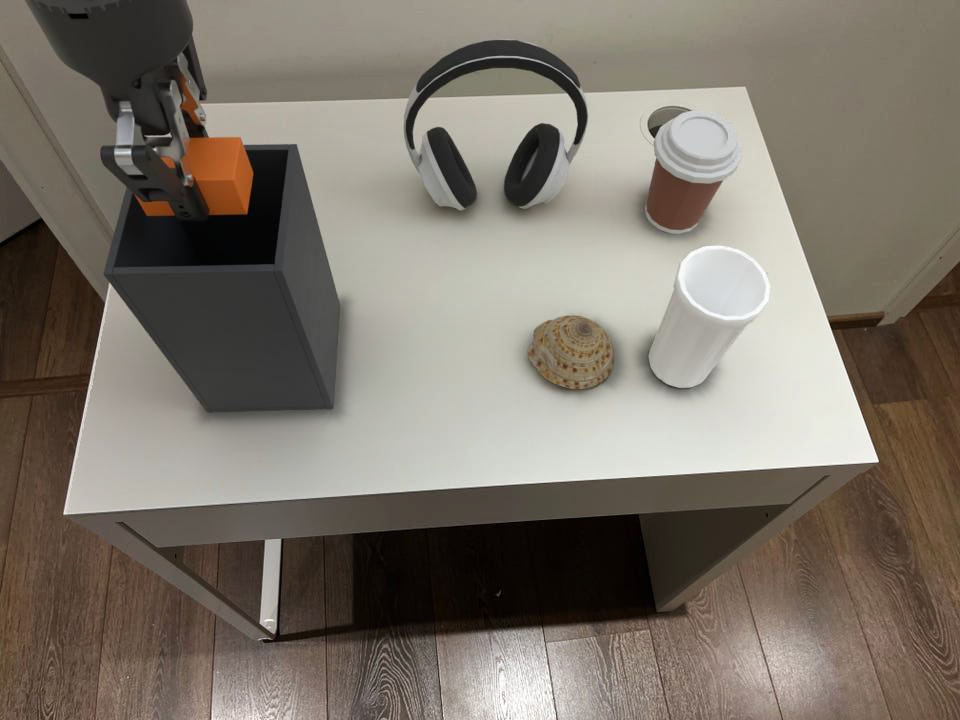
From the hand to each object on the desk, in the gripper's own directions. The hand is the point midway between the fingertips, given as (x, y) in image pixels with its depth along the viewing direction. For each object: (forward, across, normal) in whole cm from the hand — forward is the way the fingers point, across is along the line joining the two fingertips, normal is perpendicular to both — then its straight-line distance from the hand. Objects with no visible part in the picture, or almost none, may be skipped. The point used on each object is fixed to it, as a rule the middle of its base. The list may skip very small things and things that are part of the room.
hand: (199, 192), depth 50 cm
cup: (+24, +2, +41) cm, 48 cm away
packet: (0, 0, 0) cm, 0 cm away
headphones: (+24, -21, +23) cm, 39 cm away
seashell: (+24, +1, +30) cm, 39 cm away
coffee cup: (+24, -18, +44) cm, 53 cm away
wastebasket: (+24, 0, 0) cm, 24 cm away
